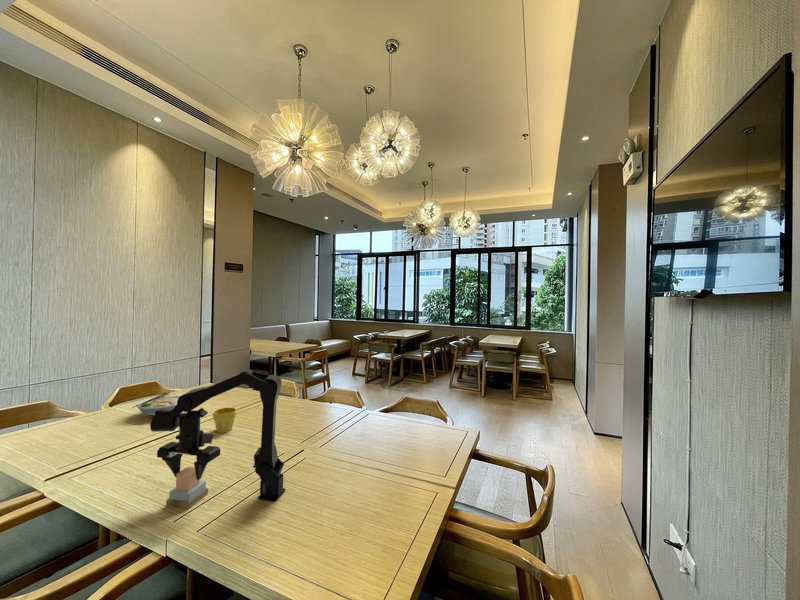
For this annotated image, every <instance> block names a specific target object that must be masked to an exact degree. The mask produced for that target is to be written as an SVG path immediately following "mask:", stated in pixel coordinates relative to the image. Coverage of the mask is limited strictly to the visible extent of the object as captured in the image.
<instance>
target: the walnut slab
mask: <svg viewBox="0 0 800 600" xmlns="http://www.w3.org/2000/svg"><path fill="white" fill-rule="evenodd" d="M208 494H209V488H208V487H206V489H205V490H204V491H202V492H201V493H200V494H199V495H197V496H196V497H195V498H194V499H192V500H191V501H190V502H188V501H179V500H170V499H169V498H167V499H166V500H165V501H166V505H165V506H166V507H169V508H170V507H171V508H178V509H179V508H180V509H185V510H190V509H191V508H192V507H194V506H195V505H196V504H198V502H200V501H201V500H202V499H204V498H205V497H206V496H207V495H208Z"/></svg>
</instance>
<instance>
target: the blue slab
mask: <svg viewBox="0 0 800 600" xmlns="http://www.w3.org/2000/svg"><path fill="white" fill-rule="evenodd" d="M206 488H207V481H205V480H199V484H198V485H196V486H195V487H194V488H192V489H191V490H190V491H183V490H176V486H175V487H174V488H172V489H171V490H170V491H169V495H168V496H169V497H168V499H170V500H179V501H188V502H190V501H191V500H192V499H194V498H195V497H196V496H197V495H199V494H200V493H201V492H202V491H204V490H205V489H206Z"/></svg>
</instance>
